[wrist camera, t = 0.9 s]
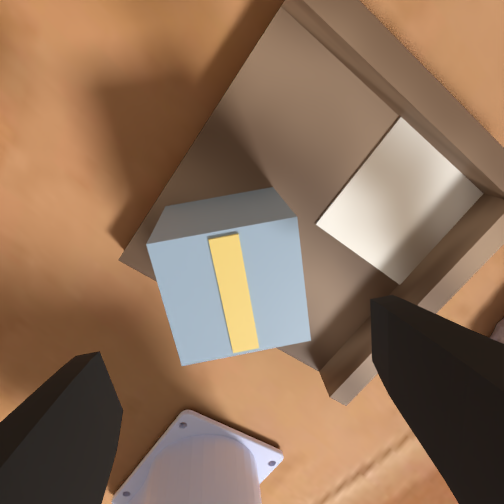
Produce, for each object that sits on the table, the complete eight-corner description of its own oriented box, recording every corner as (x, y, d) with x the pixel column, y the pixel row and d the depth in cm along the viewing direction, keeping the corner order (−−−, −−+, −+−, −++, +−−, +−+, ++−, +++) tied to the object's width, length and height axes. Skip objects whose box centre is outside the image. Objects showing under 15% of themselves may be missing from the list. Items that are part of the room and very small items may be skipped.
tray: (328, 366, 22) (346, 405, 19) (124, 251, 18) (106, 278, 15) (496, 182, 18) (550, 195, 16) (293, -13, 14) (314, -46, 11)
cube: (285, 282, 18) (311, 342, 13) (189, 300, 18) (181, 367, 13) (272, 186, 16) (297, 217, 11) (165, 206, 16) (145, 245, 11)
